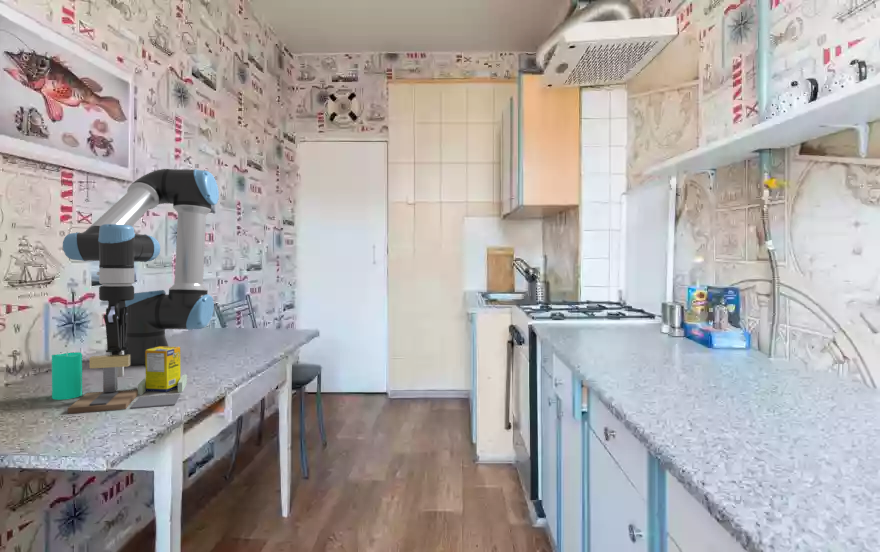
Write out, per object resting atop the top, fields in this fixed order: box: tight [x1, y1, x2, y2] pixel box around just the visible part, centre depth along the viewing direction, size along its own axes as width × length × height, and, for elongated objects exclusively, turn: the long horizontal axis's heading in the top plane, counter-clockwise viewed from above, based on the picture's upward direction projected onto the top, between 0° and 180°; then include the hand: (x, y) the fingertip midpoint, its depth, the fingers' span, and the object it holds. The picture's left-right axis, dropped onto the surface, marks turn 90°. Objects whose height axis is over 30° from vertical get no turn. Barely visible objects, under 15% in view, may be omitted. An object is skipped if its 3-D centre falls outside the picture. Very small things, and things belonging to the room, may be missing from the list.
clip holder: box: [137, 374, 188, 396], centre depth 129 cm, size 9×10×2 cm
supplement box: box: [145, 346, 182, 393], centre depth 129 cm, size 6×6×11 cm
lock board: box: [67, 388, 139, 414], centre depth 116 cm, size 13×11×2 cm
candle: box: [51, 351, 83, 401], centre depth 121 cm, size 6×6×12 cm
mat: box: [130, 393, 181, 410], centre depth 118 cm, size 9×9×1 cm
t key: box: [89, 354, 131, 392], centre depth 120 cm, size 2×8×9 cm, turn 110°
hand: (117, 376), depth 126 cm, fingers closed
